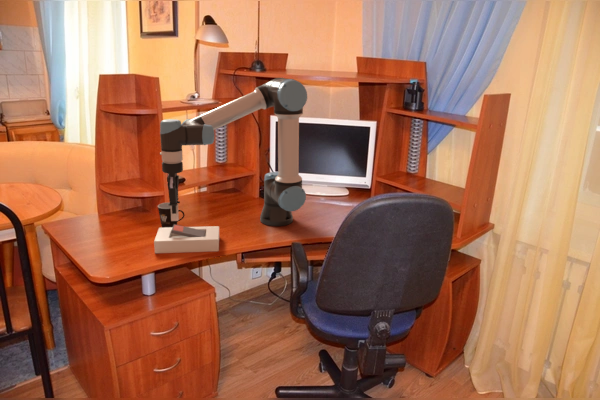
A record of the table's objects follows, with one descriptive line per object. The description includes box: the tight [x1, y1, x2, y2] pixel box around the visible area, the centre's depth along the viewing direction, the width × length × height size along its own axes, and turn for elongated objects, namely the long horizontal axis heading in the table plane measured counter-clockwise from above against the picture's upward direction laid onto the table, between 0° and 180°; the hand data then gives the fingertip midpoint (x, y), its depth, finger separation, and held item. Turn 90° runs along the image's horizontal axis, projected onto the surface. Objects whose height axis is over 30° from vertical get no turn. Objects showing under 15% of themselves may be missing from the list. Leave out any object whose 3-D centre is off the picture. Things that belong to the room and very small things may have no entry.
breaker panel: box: [153, 225, 220, 254], centre depth 176 cm, size 24×14×5 cm, turn 99°
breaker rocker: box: [171, 224, 205, 237], centre depth 175 cm, size 13×7×1 cm, turn 100°
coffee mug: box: [157, 201, 186, 228], centre depth 192 cm, size 12×9×10 cm
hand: (174, 220), depth 173 cm, fingers closed
